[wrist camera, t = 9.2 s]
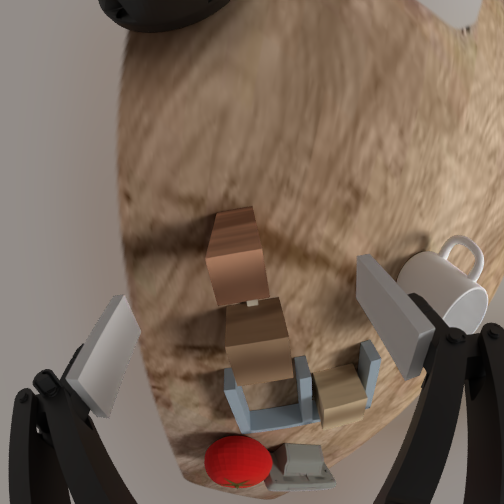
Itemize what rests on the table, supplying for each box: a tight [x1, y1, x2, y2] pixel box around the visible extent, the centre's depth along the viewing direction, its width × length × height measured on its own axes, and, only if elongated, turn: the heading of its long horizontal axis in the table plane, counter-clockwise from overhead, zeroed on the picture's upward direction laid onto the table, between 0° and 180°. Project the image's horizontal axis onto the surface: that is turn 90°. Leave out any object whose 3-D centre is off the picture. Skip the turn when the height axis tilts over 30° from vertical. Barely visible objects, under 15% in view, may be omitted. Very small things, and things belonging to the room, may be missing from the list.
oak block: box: [313, 363, 368, 430], centre depth 35 cm, size 6×6×7 cm
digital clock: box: [264, 443, 336, 491], centre depth 42 cm, size 16×9×11 cm, turn 55°
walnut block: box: [205, 206, 294, 386], centre depth 25 cm, size 17×6×11 cm, turn 10°
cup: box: [396, 235, 488, 335], centre depth 26 cm, size 8×12×10 cm
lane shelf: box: [224, 340, 381, 434], centre depth 36 cm, size 12×20×4 cm, turn 100°
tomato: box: [204, 436, 273, 489], centre depth 39 cm, size 11×12×10 cm
